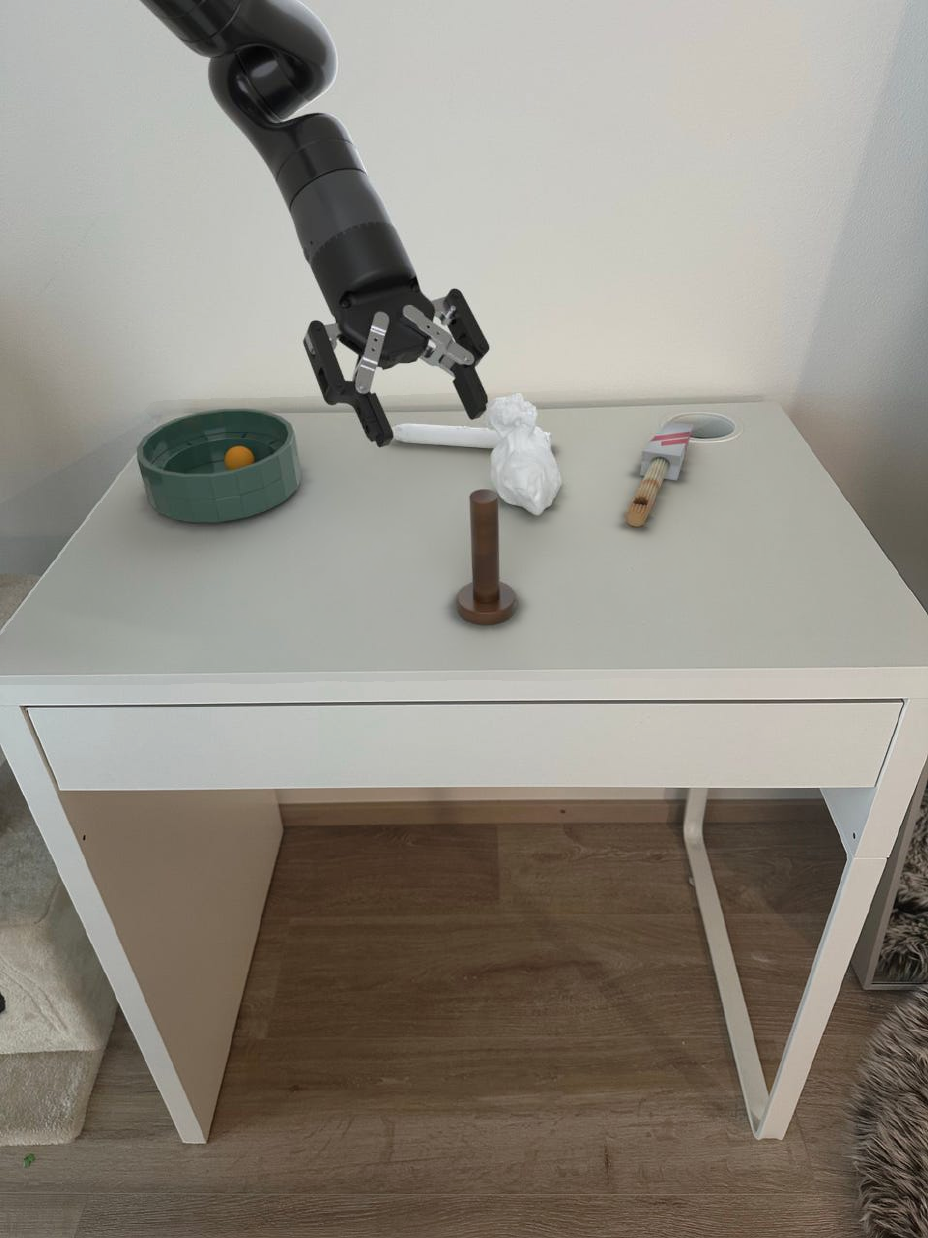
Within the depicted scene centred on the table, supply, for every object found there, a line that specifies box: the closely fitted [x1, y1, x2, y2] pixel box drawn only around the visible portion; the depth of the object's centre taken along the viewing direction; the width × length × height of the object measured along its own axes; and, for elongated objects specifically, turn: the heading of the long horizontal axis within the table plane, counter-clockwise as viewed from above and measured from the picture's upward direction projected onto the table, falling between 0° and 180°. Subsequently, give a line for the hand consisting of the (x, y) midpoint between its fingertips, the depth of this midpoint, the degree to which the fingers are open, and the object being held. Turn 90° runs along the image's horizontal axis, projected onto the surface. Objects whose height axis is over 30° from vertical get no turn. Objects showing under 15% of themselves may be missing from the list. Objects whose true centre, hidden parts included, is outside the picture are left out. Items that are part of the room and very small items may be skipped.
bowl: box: [136, 408, 302, 523], centre depth 94 cm, size 15×15×6 cm
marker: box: [391, 422, 552, 450], centre depth 101 cm, size 18×2×2 cm, turn 77°
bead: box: [225, 446, 255, 470], centre depth 96 cm, size 3×3×3 cm
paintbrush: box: [625, 421, 694, 528], centre depth 93 cm, size 4×3×20 cm
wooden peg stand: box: [456, 488, 517, 626], centre depth 74 cm, size 5×5×10 cm
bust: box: [483, 392, 563, 516], centre depth 90 cm, size 12×8×11 cm
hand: (434, 428), depth 74 cm, fingers open, 8 cm apart
